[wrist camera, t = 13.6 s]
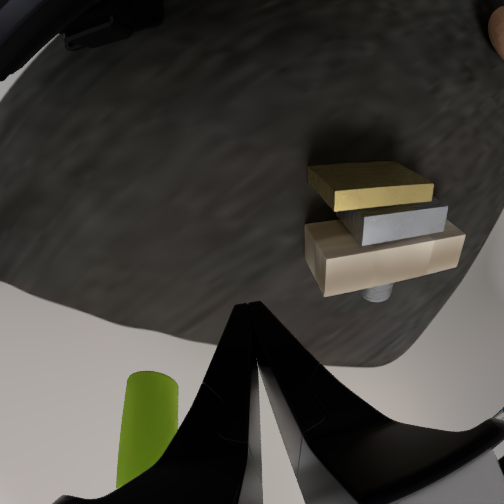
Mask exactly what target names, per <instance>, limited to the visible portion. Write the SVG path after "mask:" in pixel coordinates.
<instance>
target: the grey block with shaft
mask: <svg viewBox="0 0 504 504" xmlns="http://www.w3.org/2000/svg"><path fill="white" fill-rule="evenodd" d="M447 211H448V206H447V205H446V204H444V203H443V202H441V201H440V200H439V199H437V198H436V197H434V196H433V195H432V201H428V202H418V203H408V204H398V205H389V206H380V207H371V208H362V209H353V210H345V211H337V212H336V216H337V217H338V218H339V219H340V220H341V222H342V223H343V224H344V225H345V226H346V227H347V229H348V230H349V231H350V232H351V233H352V235H353V236H354V237H355V238H356V239H357V241H358V242H359V243H360V244H361V245H362V246H365V245H371V244H376V243H382V242H388V241H393V240H399V239H404V238H410V237H416V236H421V235H427V234H432V233H438V232H443V231H444V226H445V221H446V216H447ZM392 287H393V283H389V284H384V285H380V286H375V287H371V288H366V289H361V290H358V291H359V294H360V295H361V296H362V297H363V298H364V299H366V300H368V301H371V302H382V301H385V300H387V299H388V298H389V297H390V295H391V291H392Z"/></svg>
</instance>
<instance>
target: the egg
mask: <svg viewBox="0 0 504 504" xmlns="http://www.w3.org/2000/svg"><path fill="white" fill-rule="evenodd" d="M488 33H489V37H490V40H491V43H492V45H493V46H494V48H495V50H496V51H497V53H498V54H499V55H500V56H501V57H502V58H503V59H504V6H502V7H499V8H498V9H496V10H495V11H494V12H493V13H492V15H491V17H490V19H489V23H488Z"/></svg>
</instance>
